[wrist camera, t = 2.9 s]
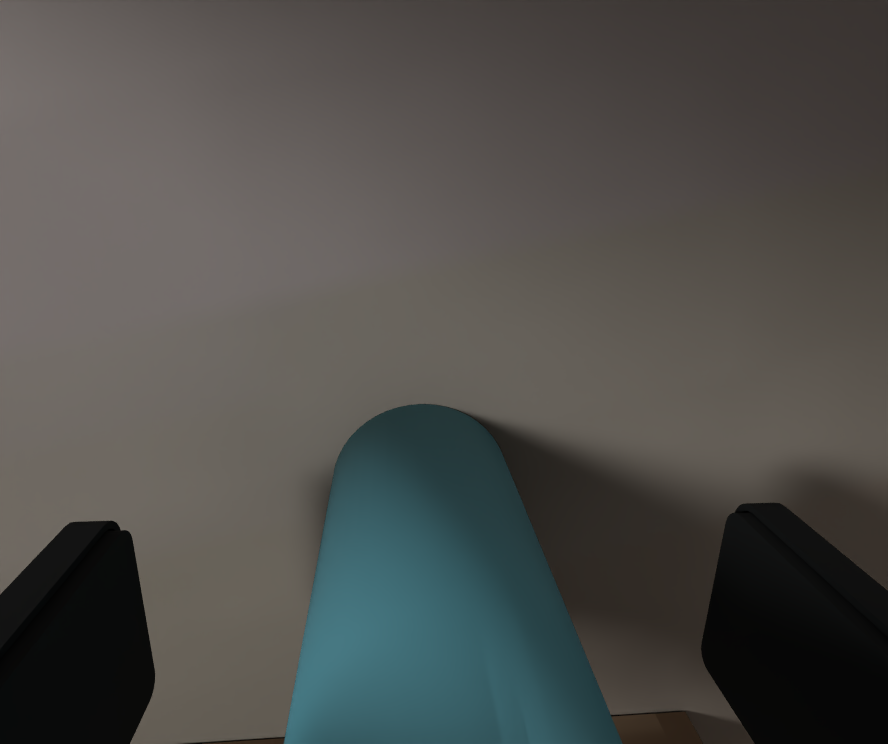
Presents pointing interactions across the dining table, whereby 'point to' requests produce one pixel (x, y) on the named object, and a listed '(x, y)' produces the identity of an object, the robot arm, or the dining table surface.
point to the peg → (437, 602)
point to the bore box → (643, 736)
